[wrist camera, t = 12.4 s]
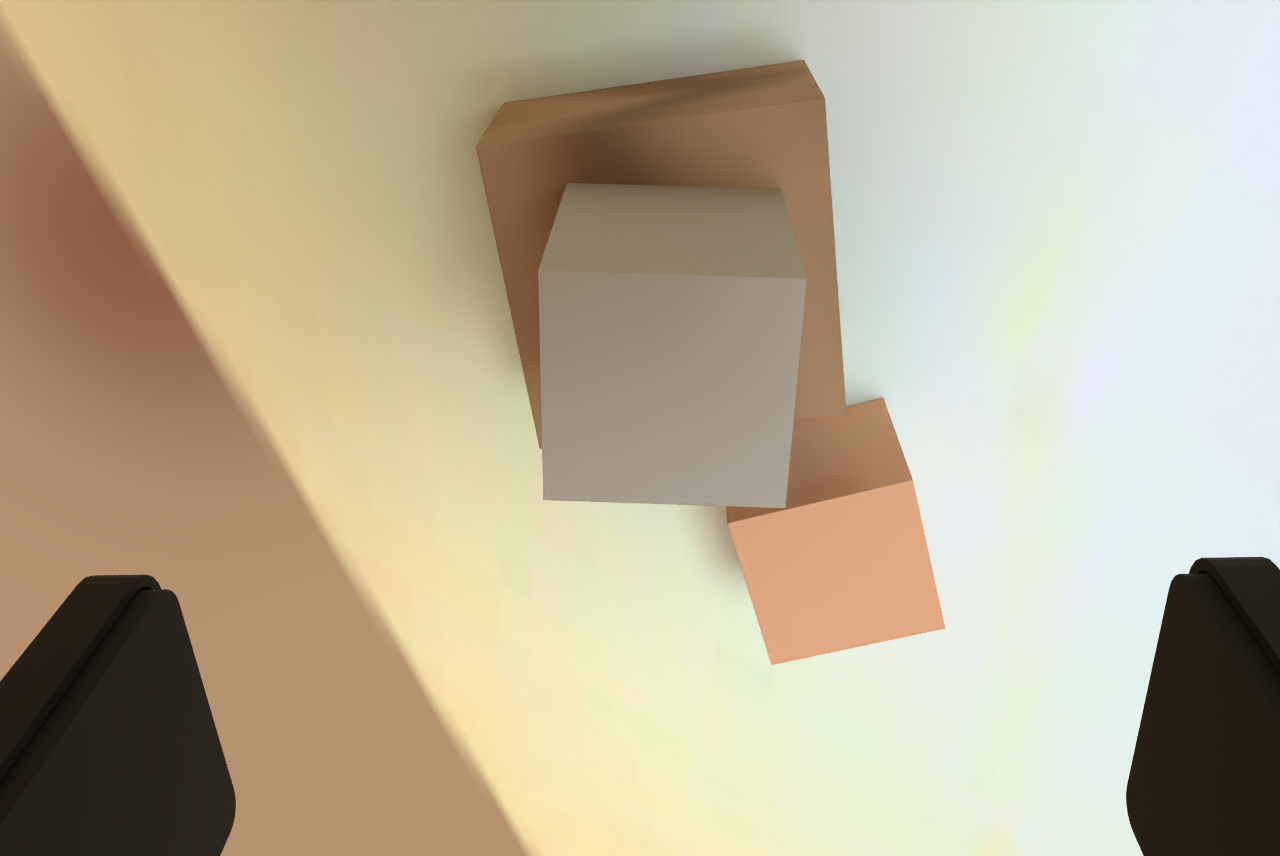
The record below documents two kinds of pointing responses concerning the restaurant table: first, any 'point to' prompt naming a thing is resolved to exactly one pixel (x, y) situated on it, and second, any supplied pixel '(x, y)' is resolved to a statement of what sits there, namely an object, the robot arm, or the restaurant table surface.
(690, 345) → the grey block
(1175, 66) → the restaurant table surface
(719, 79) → the walnut block
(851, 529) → the terracotta cube
